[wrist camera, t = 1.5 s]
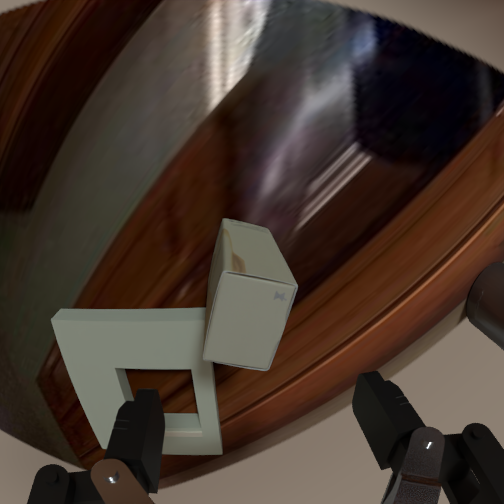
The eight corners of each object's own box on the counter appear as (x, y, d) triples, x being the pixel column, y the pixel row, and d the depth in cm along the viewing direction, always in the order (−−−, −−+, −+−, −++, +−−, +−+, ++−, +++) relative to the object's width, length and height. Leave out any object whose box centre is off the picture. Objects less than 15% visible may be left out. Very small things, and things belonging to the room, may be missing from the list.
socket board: (207, 307, 30) (206, 321, 28) (222, 440, 36) (222, 455, 34) (60, 308, 29) (50, 320, 27) (106, 435, 35) (102, 449, 33)
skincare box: (221, 216, 28) (222, 263, 16) (269, 227, 29) (302, 279, 17) (206, 283, 30) (199, 362, 18) (251, 292, 30) (269, 374, 19)
